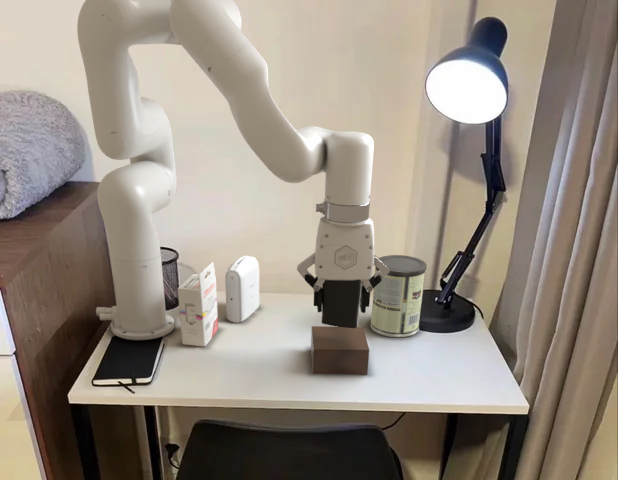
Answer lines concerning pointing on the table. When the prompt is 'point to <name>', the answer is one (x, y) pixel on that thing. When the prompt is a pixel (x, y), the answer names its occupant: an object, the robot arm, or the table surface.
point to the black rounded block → (341, 302)
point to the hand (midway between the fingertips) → (341, 309)
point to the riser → (339, 350)
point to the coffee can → (398, 297)
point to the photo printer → (242, 288)
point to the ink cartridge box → (198, 307)
